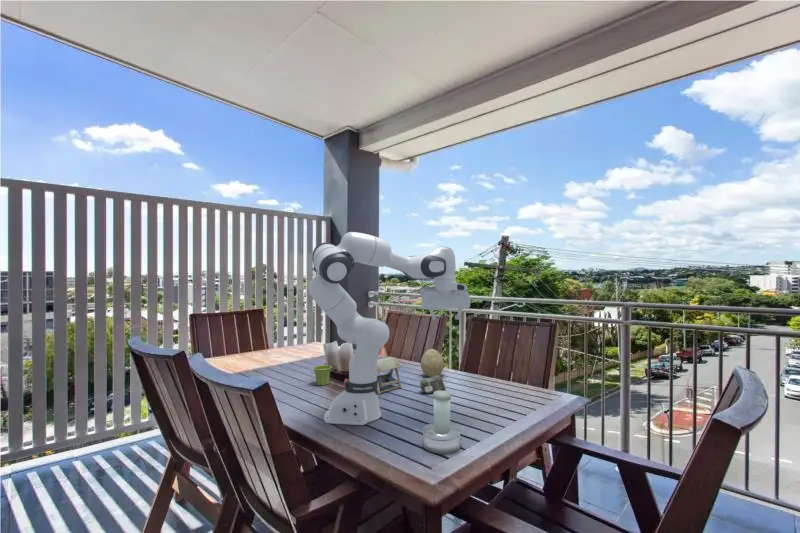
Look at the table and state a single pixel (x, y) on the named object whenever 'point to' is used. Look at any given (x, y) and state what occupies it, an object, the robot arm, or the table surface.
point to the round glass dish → (441, 440)
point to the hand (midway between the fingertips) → (445, 319)
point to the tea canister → (441, 412)
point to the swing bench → (387, 379)
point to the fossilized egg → (432, 363)
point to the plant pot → (322, 374)
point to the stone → (432, 384)
